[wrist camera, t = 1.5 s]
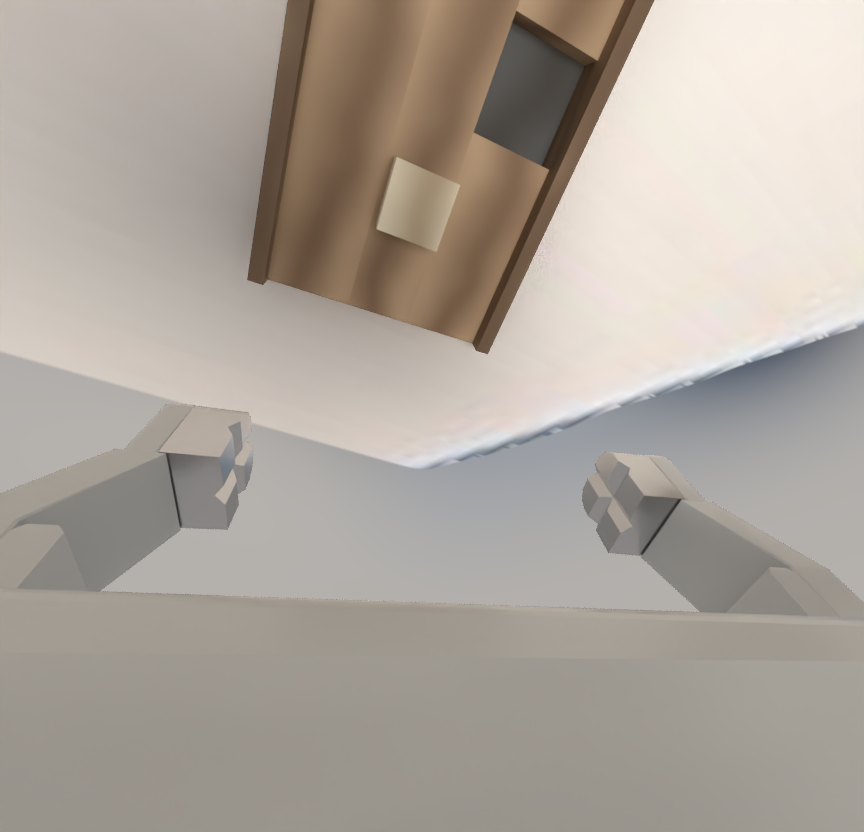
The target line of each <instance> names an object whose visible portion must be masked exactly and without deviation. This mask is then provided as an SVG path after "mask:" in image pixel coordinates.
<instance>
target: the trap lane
mask: <svg viewBox="0 0 864 832" xmlns="http://www.w3.org/2000/svg"><path fill="white" fill-rule="evenodd" d="M653 2H654V0H288V3H287V10H286V17H285V24H284V31H283V37H282V44H281V51H280V58H279V65H278V72H277V79H276V86H275V93H274V99H273V106H272V113H271V120H270V127H269V134H268V141H267V148H266V155H265V162H264V168H263V175H262V182H261V189H260V196H259V203H258V210H257V217H256V224H255V231H254V237H253V244H252V251H251V258H250V265H249V272H248V279H247V280H249V281H252V282H256V283H259V284H262V285H264V283H265V282H266V281H267V279H269V280H272V281H275V282H278V283H282V284H285V285H288V286H291V287H294V288H298V289H301V290H304V291H307V292H310V293H313V294H317V295H320V296H323V297H326V298H329V299H333V300H336V301H339V302H342V303H345V304H349V305H352V306H355V307H358V308H361V309H364V310H368V311H371V312H374V313H377V314H380V315H384V316H387V317H390V318H393V319H396V320H399V321H403V322H406V323H409V324H412V325H415V326H419V327H422V328H425V329H428V330H431V331H435V332H438V333H441V334H444V335H447V336H450V337H454V338H457V339H460V340H463V341H466V342H470V343H472V344H473V346H474V347H475V349H476V351H479V352H482V353H486V354H488V352H489V350H490V348H491V346H492V344H493V342H494V340H495V337H496V335H497V333H498V331H499V329H500V327H501V325H502V323H503V320H504V318H505V316H506V314H507V312H508V310H509V308H510V306H511V303H512V301H513V299H514V297H515V295H516V293H517V291H518V289H519V286H520V284H521V282H522V280H523V278H524V276H525V274H526V272H527V269H528V267H529V265H530V263H531V261H532V259H533V257H534V255H535V252H536V250H537V248H538V246H539V244H540V242H541V240H542V238H543V236H544V233H545V231H546V229H547V227H548V225H549V223H550V221H551V219H552V216H553V214H554V212H555V210H556V208H557V206H558V204H559V202H560V199H561V197H562V195H563V193H564V191H565V189H566V187H567V185H568V182H569V180H570V178H571V176H572V174H573V172H574V170H575V168H576V165H577V163H578V161H579V159H580V157H581V155H582V153H583V151H584V148H585V146H586V144H587V142H588V140H589V138H590V136H591V134H592V132H593V129H594V127H595V125H596V123H597V121H598V119H599V117H600V115H601V112H602V110H603V108H604V106H605V104H606V102H607V100H608V98H609V95H610V93H611V91H612V89H613V87H614V85H615V83H616V81H617V78H618V76H619V74H620V72H621V70H622V68H623V66H624V64H625V61H626V59H627V57H628V55H629V53H630V51H631V49H632V47H633V44H634V42H635V40H636V38H637V36H638V34H639V32H640V30H641V28H642V25H643V23H644V21H645V19H646V17H647V15H648V13H649V11H650V8H651V6H652V4H653ZM393 157H398V158H400V159H403V160H405V161H407V162H409V163H412V164H414V165H416V166H418V167H421V168H423V169H425V170H428V171H430V172H432V173H434V174H437V175H439V176H441V177H443V178H446V179H448V180H450V181H452V182H455V183H457V184H459V185H460V188H459V190H458V193H457V196H456V199H455V202H454V204H453V207H452V210H451V213H450V216H449V218H448V221H447V224H446V227H445V230H444V232H443V235H442V238H441V241H440V244H439V246H438V249H437V252H435V251H433V250H430V249H428V248H425V247H422V246H420V245H417V244H414V243H412V242H409V241H406V240H404V239H401V238H399V237H396V236H393V235H391V234H388V233H385V232H383V231H380V230H378V229H376V224H375V221H376V218H377V214H378V210H379V207H380V203H381V200H382V196H383V192H384V189H385V185H386V182H387V178H388V174H389V171H390V167H391V164H392V160H393Z"/></svg>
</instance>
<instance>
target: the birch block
mask: <svg viewBox="0 0 864 832" xmlns="http://www.w3.org/2000/svg"><path fill="white" fill-rule="evenodd" d="M459 188H460V185H459V184H457V183H455V182H452V181H450V180H448V179H446V178H443V177H441V176H439V175H437V174H434V173H432V172H430V171H428V170H425V169H423V168H421V167H418V166H416V165H414V164H412V163H409V162H407V161H405V160H403V159H400V158H398V157H393V160H392V164H391V167H390V171H389V174H388V178H387V182H386V185H385V189H384V192H383V196H382V200H381V203H380V207H379V210H378V214H377V218H376V221H375V224H376V229H378V230H380V231H383V232H385V233H388V234H391V235H393V236H396V237H399V238H401V239H404V240H406V241H409V242H412V243H414V244H417V245H420V246H422V247H425V248H428V249H430V250H433V251H435V252H437V249H438V246H439V244H440V241H441V238H442V235H443V232H444V230H445V227H446V224H447V221H448V218H449V216H450V213H451V210H452V207H453V204H454V202H455V199H456V196H457V193H458V190H459Z"/></svg>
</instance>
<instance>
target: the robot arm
mask: <svg viewBox="0 0 864 832" xmlns="http://www.w3.org/2000/svg"><path fill="white" fill-rule="evenodd" d="M251 431H252V425H251V416H250V415H249V413H248V412H241V411H233V410H226V409H218V408H210V407H202V406H195V405H186V404H176V403H169V404H166V405H165V406H163V408H162V409H161V410H160V411H159V412H158V413H157V414H156V415H155V416H154V417H153V418H152V419H151V420H150V422H149V423H148V424H147V425H146V426H145V427H144V428H143V429H142V430H141V431H140V432H139V434H138V435H137V436H136V437H135V438H134V439H133V440H132V441H131V442H130V443H129V444H128V446H127V447H126V448H125V449H113V450H110V451H108V452H105V453H103V454H100V455H98V456H95V457H92V458H90V459H87V460H85V461H82V462H80V463H77V464H74V465H72V466H69V467H67V468H64V469H62V470H59V471H56V472H54V473H51V474H49V475H46V476H44V477H41V478H38V479H36V480H33V481H31V482H28V483H26V484H23V485H21V486H18V487H15V488H13V489H10V490H7V491H5V492H3V493H0V832H864V602H863V601H862V600H861V599H860V598H859V597H857V596H856V595H855V594H854V593H853V592H852V591H851V590H850V589H849V588H848V587H847V586H846V585H845V584H844V583H842V581H841V580H839V578H837V577H836V576H835V575H834V574H833V573H832V572H831V571H830V570H829V569H827V568H826V567H824V566H822V565H820V564H819V563H817V562H815V561H813V560H812V559H810V558H808V557H806V556H805V555H803V554H801V553H800V552H798V551H796V550H794V549H793V548H791V547H789V546H788V545H786V544H784V543H782V542H780V541H779V540H777V539H775V538H774V537H772V536H770V535H769V534H767V533H765V532H763V531H762V530H760V529H758V528H757V527H755V526H753V525H751V524H750V523H748V522H746V521H744V520H743V519H741V518H739V517H737V516H736V515H734V514H732V513H731V512H729V511H727V510H725V509H724V508H722V507H720V506H718V505H717V504H715V503H713V502H707V501H706V500H705V499H704V498H703V497H702V495H701V494H700V493H699V492H698V491H697V490H696V489H695V488H694V487H693V486H692V485H691V484H690V483H689V482H688V480H687V479H686V478H685V477H684V476H683V475H682V474H681V473H680V472H679V471H678V470H677V468H676V467H675V466H674V465H673V464H672V463H671V462H670V461H669V460H668V459H666V458H664V457H662V456H651V455H634V454H623V453H612V452H604V453H603V454H602V455H601V456H600V457H599V458H598V460H597V462H596V464H595V467H596V471H597V473H595V474H594V475H592V476H591V477H590V478H588V479H587V481H586V484H585V486H584V488H583V495H582V501H583V506H584V509H585V511H586V513H587V515H588V516H589V517H590V518H591V519H593V520H594V521H595V522H596V523H598V525H597V529H596V531H597V533H598V535H599V537H600V538H601V540H602V542H603V544H604V546H605V547H606V549H607V551H608V553H616V554H627V555H638V556H642V559H643V560H644V561H646V562H647V563H648V564H649V565H650V566H651V567H652V568H653V569H654V570H655V571H656V572H658V573H659V574H660V575H661V576H662V577H663V578H664V579H665V580H666V581H667V582H668V583H669V584H671V585H672V586H673V587H674V588H675V589H676V590H677V591H678V592H679V593H680V594H681V595H682V596H683V597H685V598H686V599H687V600H688V601H689V602H690V603H691V604H692V605H694V607H695V608H696V609H698V610H699V611H700V612H682V611H654V610H626V609H597V608H569V607H567V608H566V607H540V606H510V605H481V604H480V605H479V604H453V603H423V602H422V603H421V602H395V601H366V600H365V601H364V600H337V599H336V600H335V599H307V598H279V597H249V596H219V595H191V594H190V595H189V594H161V593H132V592H104V591H101V590H102V589H103V588H105V587H106V586H107V585H108V584H110V583H111V582H112V581H114V580H115V579H116V578H118V577H119V576H120V575H122V574H123V573H124V572H126V571H127V570H128V569H130V568H131V567H132V566H134V565H135V564H136V563H137V562H139V561H140V560H142V559H143V558H144V557H146V556H147V555H148V554H150V553H151V552H152V551H153V550H155V549H156V548H158V547H159V546H160V545H161V544H163V543H164V542H165V541H167V540H168V539H170V538H171V537H172V536H174V535H175V534H176V533H177V532H179V531H180V528H198V529H226V530H227V529H228V527H229V525H230V523H231V521H232V518H233V516H234V514H235V512H236V509H237V507H238V494H239V493H240V492H242V491H244V490H245V489H246V487H247V484H248V481H249V479H250V474H251V470H252V464H253V447H252V445H251V444H250V443H249V442H248V441H247V439H248V437H249V435H250V433H251Z"/></svg>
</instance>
